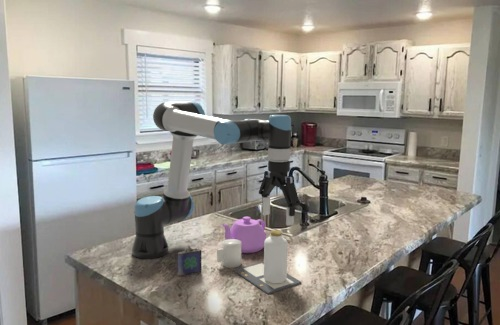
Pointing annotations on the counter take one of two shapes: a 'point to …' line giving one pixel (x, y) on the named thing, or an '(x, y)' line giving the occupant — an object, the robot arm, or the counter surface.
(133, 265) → the counter surface
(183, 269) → the flask
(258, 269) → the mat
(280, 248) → the white bottle
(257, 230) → the teapot
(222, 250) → the mug
